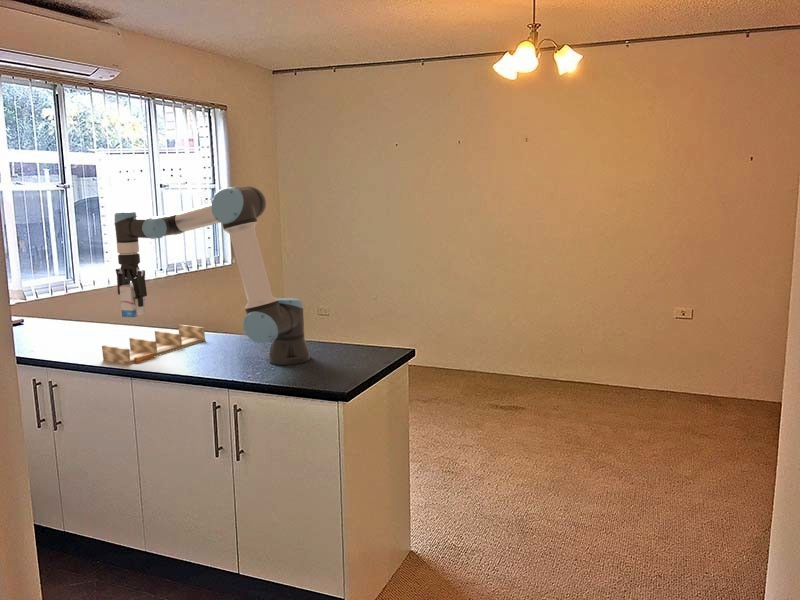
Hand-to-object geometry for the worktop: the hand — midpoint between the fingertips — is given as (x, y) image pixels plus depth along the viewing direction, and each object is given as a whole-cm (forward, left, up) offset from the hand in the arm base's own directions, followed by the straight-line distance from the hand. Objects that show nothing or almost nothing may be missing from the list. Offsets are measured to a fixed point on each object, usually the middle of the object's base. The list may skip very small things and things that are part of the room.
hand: (134, 314), depth 255 cm
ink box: (0, 0, -1) cm, 1 cm away
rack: (+2, -11, -17) cm, 20 cm away
